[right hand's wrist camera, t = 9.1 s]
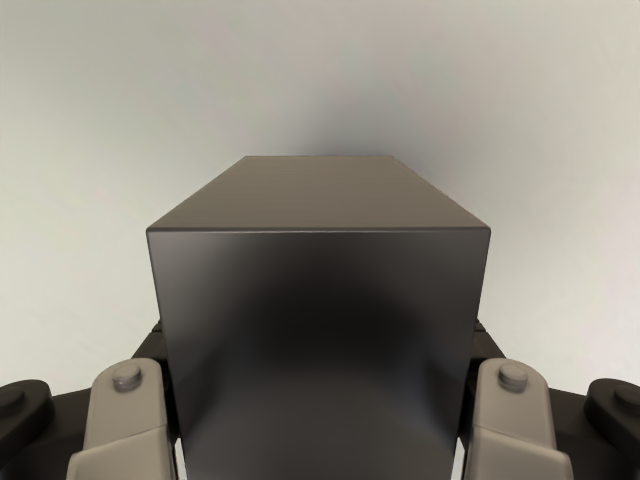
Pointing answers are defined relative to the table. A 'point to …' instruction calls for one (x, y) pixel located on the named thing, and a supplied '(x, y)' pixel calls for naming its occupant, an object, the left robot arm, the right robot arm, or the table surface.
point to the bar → (318, 319)
